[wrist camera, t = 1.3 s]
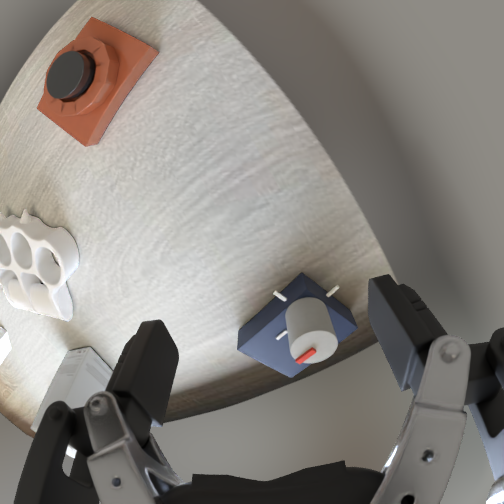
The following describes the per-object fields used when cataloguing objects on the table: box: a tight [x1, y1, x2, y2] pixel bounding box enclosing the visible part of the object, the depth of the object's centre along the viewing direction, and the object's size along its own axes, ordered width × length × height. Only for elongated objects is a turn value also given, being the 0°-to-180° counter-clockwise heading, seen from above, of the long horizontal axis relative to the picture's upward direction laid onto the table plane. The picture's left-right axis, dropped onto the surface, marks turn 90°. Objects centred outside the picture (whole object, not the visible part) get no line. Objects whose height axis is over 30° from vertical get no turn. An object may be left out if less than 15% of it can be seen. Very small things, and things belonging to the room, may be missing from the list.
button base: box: [37, 17, 159, 147], centre depth 16 cm, size 10×8×4 cm
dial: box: [285, 297, 338, 364], centre depth 23 cm, size 4×4×5 cm
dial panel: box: [237, 273, 358, 377], centre depth 27 cm, size 12×10×3 cm
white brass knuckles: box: [0, 208, 79, 322], centre depth 24 cm, size 3×18×15 cm
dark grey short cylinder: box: [46, 51, 95, 99], centre depth 14 cm, size 4×4×2 cm
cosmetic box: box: [31, 347, 113, 458], centre depth 27 cm, size 8×7×16 cm
